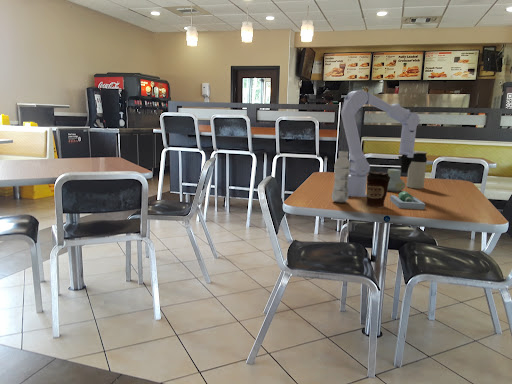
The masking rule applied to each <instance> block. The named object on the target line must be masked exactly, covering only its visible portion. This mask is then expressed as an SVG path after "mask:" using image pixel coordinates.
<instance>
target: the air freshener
mask: <svg viewBox="0 0 512 384" xmlns="http://www.w3.org/2000/svg"><path fill="white" fill-rule="evenodd" d="M386 173H389V175H388V176H390V181H389V183H388V189H387V192H392V193H400V192H402V191H404V189H405V188H406V183H405V181H404V180H403V179H401V174H402V172H401V169H397V168H396V169H395V168H388V169H387V172H386Z"/></svg>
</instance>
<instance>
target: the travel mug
mask: <svg viewBox="0 0 512 384" xmlns="http://www.w3.org/2000/svg"><path fill="white" fill-rule="evenodd" d="M414 152H416V154H414V155H413V158H414V159H413V160H412V162H411V164H410V166H409V169H408V172H407V178H406V184H405V187H407V188H408V189H413V190H419V189H420V190H422V189H424V187H425V179H426V178H425V177H426V171H427V170H426V169H427V161H428V158H427V153H428V152H427V151H422V150H421V151H420V150H414Z"/></svg>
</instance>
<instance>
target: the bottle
mask: <svg viewBox="0 0 512 384" xmlns="http://www.w3.org/2000/svg"><path fill="white" fill-rule="evenodd" d="M398 193H399V194H398V196H397V197H398V198H399V199H400V200H401V201H403V202H413V197H414V196H413V195H412V194H411V193H409V192H408V191H405V190H401V191H399V192H398ZM412 196H413V197H412Z"/></svg>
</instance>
